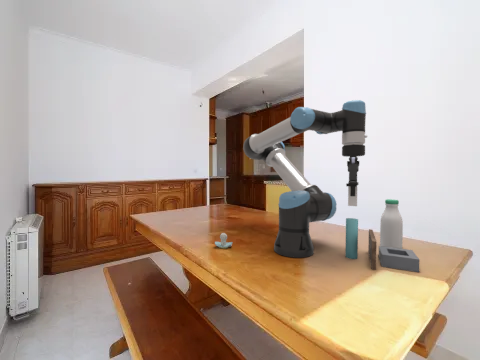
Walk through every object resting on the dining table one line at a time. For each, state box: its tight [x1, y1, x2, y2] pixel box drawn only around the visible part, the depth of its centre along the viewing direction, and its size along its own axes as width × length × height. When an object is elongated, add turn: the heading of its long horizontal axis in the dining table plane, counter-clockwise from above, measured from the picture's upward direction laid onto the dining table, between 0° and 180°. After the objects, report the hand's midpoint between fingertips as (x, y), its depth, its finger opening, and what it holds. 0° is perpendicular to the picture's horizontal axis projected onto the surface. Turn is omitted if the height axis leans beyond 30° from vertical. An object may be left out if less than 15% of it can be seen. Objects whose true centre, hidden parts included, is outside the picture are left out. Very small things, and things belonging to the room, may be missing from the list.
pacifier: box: [214, 232, 233, 249], centre depth 96 cm, size 7×6×6 cm
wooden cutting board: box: [367, 229, 378, 271], centre depth 82 cm, size 1×18×9 cm, turn 154°
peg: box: [344, 217, 359, 260], centre depth 84 cm, size 4×4×14 cm
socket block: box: [378, 245, 420, 273], centre depth 78 cm, size 10×10×4 cm
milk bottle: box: [379, 198, 404, 249], centre depth 95 cm, size 8×8×20 cm
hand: (352, 203), depth 84 cm, fingers open, 13 cm apart
